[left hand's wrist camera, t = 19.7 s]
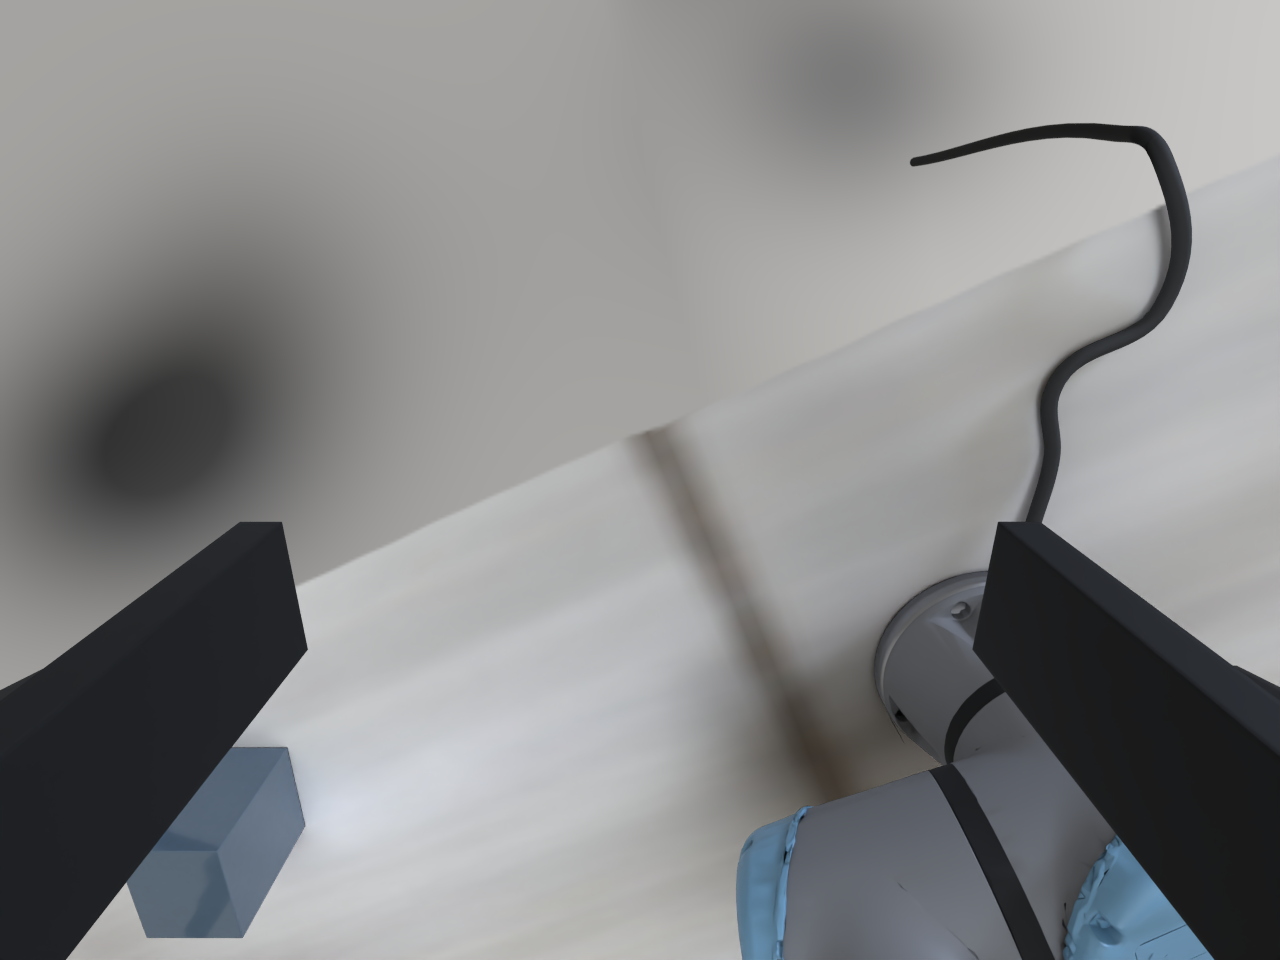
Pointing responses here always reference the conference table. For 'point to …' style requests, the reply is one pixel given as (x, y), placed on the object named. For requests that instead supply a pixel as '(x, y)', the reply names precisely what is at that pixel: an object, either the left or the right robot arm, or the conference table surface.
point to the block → (221, 850)
